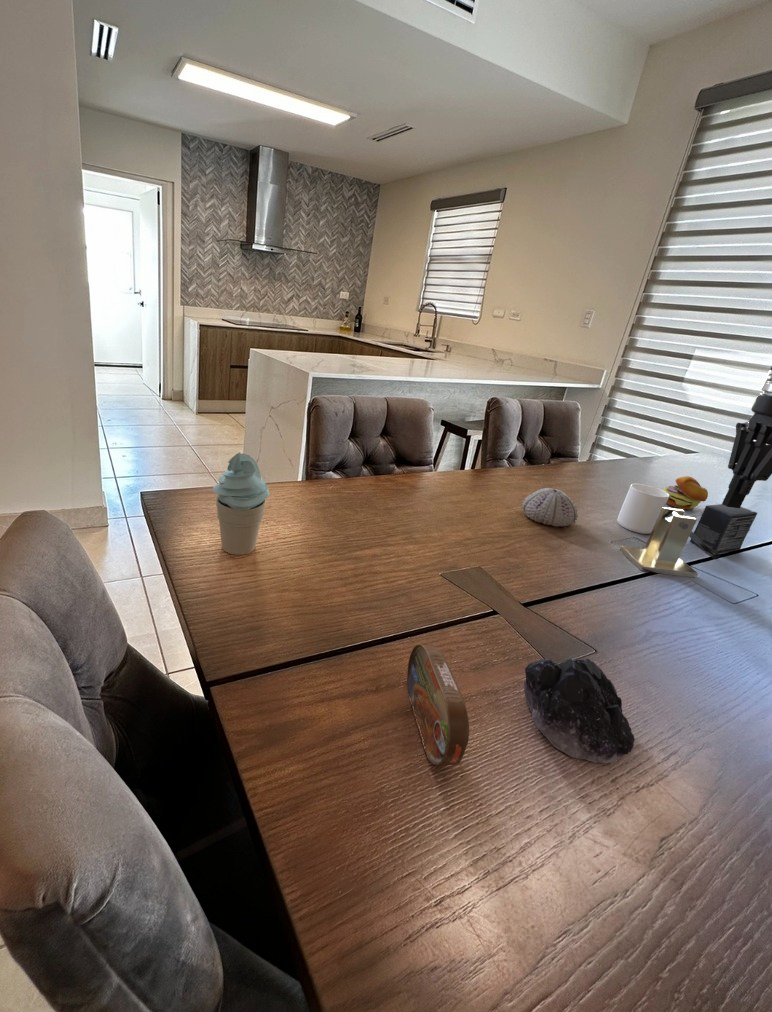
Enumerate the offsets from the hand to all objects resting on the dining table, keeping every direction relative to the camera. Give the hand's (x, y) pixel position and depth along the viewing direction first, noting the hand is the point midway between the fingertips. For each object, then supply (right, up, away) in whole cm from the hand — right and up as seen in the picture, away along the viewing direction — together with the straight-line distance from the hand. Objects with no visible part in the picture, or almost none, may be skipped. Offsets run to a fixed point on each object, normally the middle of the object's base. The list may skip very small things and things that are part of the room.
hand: (730, 505), depth 100 cm
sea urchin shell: (-28, -4, +23) cm, 37 cm away
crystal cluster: (-54, -27, -38) cm, 72 cm away
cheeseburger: (+23, -1, +45) cm, 50 cm away
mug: (-3, -6, +26) cm, 27 cm away
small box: (+12, -11, +19) cm, 25 cm away
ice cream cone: (-104, -8, -7) cm, 104 cm away
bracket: (-11, -13, +6) cm, 19 cm away
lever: (-7, -7, +4) cm, 10 cm away
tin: (-74, -26, -41) cm, 88 cm away
